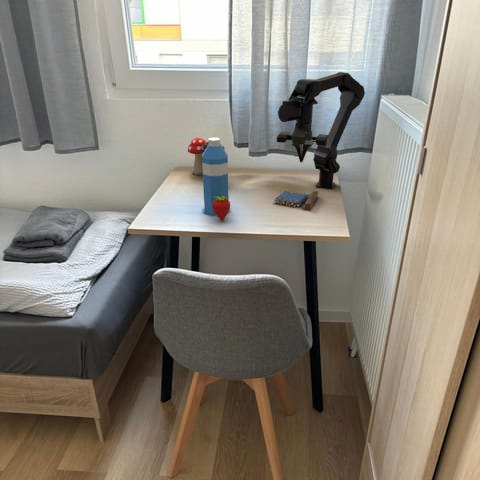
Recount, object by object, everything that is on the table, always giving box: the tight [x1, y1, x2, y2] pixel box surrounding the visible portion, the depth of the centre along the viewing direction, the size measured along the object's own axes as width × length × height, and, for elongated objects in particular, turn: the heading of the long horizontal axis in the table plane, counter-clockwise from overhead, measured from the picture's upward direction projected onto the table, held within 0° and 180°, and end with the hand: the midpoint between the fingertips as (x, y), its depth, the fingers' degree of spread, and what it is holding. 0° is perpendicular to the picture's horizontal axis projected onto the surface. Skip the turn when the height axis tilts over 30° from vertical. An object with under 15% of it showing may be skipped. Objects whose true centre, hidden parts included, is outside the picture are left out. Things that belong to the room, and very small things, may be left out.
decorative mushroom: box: [187, 137, 207, 176], centre depth 209 cm, size 10×9×15 cm
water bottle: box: [202, 137, 230, 216], centre depth 169 cm, size 9×9×25 cm
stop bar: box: [303, 190, 319, 211], centre depth 181 cm, size 14×2×2 cm, turn 161°
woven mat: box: [273, 190, 310, 208], centre depth 183 cm, size 10×11×2 cm
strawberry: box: [212, 192, 231, 222], centre depth 166 cm, size 6×8×10 cm
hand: (301, 162), depth 185 cm, fingers closed
